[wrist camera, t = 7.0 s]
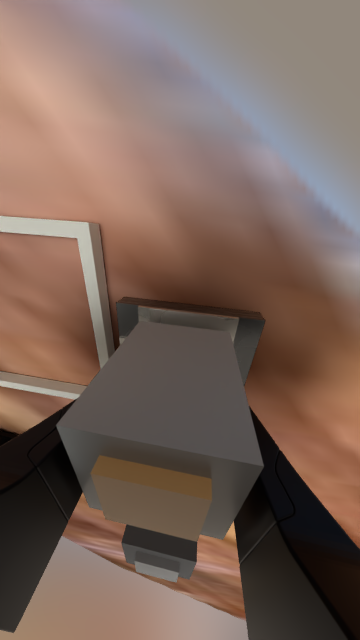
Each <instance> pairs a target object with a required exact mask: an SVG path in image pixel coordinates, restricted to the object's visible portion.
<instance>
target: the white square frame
mask: <svg viewBox="0 0 360 640" xmlns="http://www.w3.org/2000/svg"><path fill="white" fill-rule="evenodd" d="M0 232H10V233H22V234H34V235H46V236H58V237H70V238H77V240H78V245H79V251H80V256H81V262H82V267H83V273H84V279H85V284H86V290H87V295H88V301H89V307H90V312H91V318H92V323H93V329H94V334H95V340H96V346H97V351H98V357H99V362H100V368H101V369H102V367H103V366H104V365H105V364H106V362H107V361H108V360H109V359H110V357H111V356H112V355H113V354H114V352H115V349H114V341H113V333H112V325H111V317H110V309H109V301H108V293H107V285H106V277H105V268H104V260H103V252H102V244H101V236H100V228H99V224H96V223H88V222H75V221H61V220H47V219H34V218H20V217H6V216H0ZM0 386H4V387H9V388H15V389H20V390H26V391H31V392H37V393H42V394H48V395H53V396H59V397H64V398H70V399H77V398H78V397H79V396H80V395H81V393H82V392H83V391H84V390H85V389H86V387H87V386H84V385H78V384H72V383H66V382H60V381H55V380H49V379H43V378H37V377H31V376H26V375H20V374H14V373H8V372H2V371H0Z"/></svg>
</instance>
